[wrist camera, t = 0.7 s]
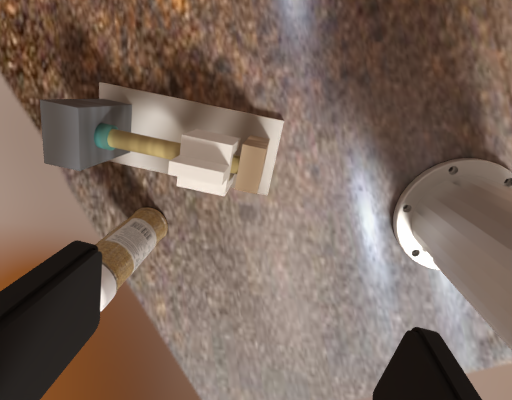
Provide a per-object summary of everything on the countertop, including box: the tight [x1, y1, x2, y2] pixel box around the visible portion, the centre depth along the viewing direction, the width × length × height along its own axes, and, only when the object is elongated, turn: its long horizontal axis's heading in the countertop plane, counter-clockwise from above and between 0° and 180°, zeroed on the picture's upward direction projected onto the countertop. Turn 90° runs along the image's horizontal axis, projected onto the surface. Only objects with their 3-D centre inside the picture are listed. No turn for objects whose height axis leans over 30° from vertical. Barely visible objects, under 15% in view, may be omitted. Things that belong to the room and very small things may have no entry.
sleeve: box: [168, 129, 240, 196], centre depth 23 cm, size 4×4×6 cm
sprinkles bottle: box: [96, 207, 168, 312], centre depth 28 cm, size 5×5×14 cm
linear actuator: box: [40, 82, 284, 195], centre depth 27 cm, size 19×8×9 cm, turn 79°
